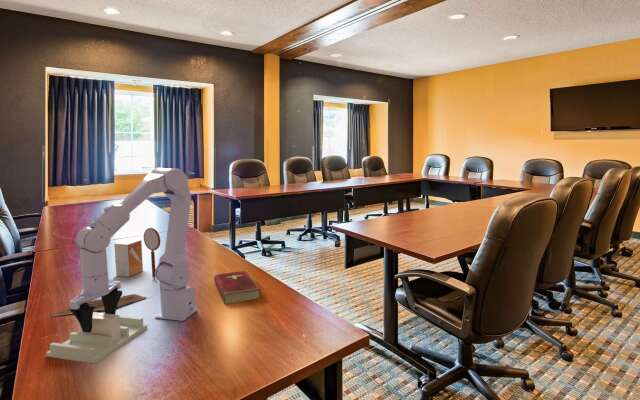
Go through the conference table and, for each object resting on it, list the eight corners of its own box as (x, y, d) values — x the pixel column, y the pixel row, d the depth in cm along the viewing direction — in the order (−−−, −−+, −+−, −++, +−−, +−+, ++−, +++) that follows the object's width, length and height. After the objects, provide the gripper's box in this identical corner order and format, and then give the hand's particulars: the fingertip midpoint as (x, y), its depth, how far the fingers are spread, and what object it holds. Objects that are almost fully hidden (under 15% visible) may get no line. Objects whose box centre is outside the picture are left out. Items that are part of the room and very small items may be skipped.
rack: (147, 328, 107) (146, 317, 107) (95, 363, 90) (94, 351, 89) (104, 322, 110) (104, 312, 110) (46, 356, 93) (45, 344, 92)
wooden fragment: (144, 293, 133) (144, 290, 133) (148, 304, 124) (147, 301, 124) (54, 309, 121) (54, 305, 120) (51, 323, 111) (50, 319, 111)
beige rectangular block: (120, 336, 100) (119, 315, 99) (112, 342, 97) (110, 320, 96) (88, 332, 102) (86, 311, 102) (79, 338, 100) (77, 316, 99)
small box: (129, 277, 150) (127, 244, 148) (115, 275, 151) (113, 243, 149) (143, 270, 157) (141, 239, 156) (130, 269, 159) (128, 238, 157)
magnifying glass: (163, 280, 146) (160, 228, 143) (159, 281, 144) (157, 229, 142) (148, 276, 150) (145, 226, 147) (144, 278, 149) (141, 227, 146)
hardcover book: (223, 305, 124) (223, 293, 123) (214, 284, 143) (214, 273, 142) (260, 300, 129) (260, 287, 128) (246, 280, 148) (246, 269, 147)
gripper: (103, 264, 105) (107, 311, 107) (56, 282, 91) (61, 336, 93) (125, 266, 104) (129, 314, 106) (81, 284, 90) (86, 339, 92)
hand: (99, 324), depth 99 cm, fingers open, 7 cm apart
